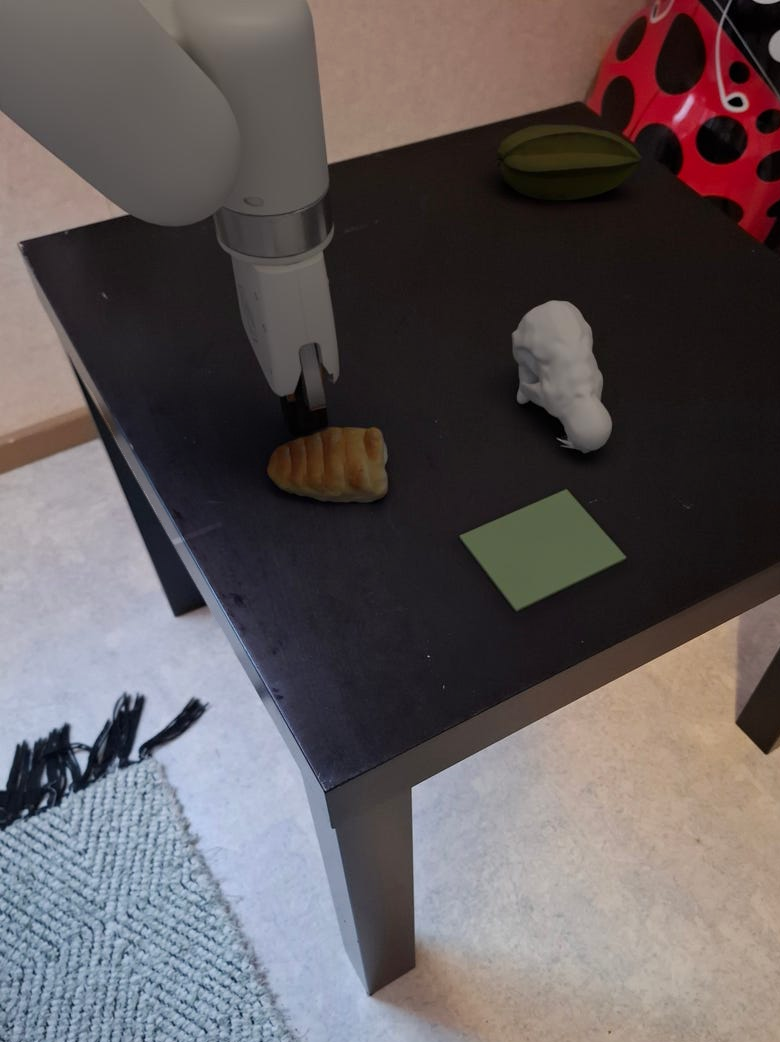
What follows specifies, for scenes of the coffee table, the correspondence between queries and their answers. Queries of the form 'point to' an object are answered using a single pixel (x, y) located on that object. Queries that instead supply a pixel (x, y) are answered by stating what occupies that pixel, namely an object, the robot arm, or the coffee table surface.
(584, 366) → the grey lumpy elongated piece
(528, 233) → the coffee table surface
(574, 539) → the cloth
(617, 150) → the fruit
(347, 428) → the pastry
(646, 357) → the coffee table surface
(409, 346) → the coffee table surface
